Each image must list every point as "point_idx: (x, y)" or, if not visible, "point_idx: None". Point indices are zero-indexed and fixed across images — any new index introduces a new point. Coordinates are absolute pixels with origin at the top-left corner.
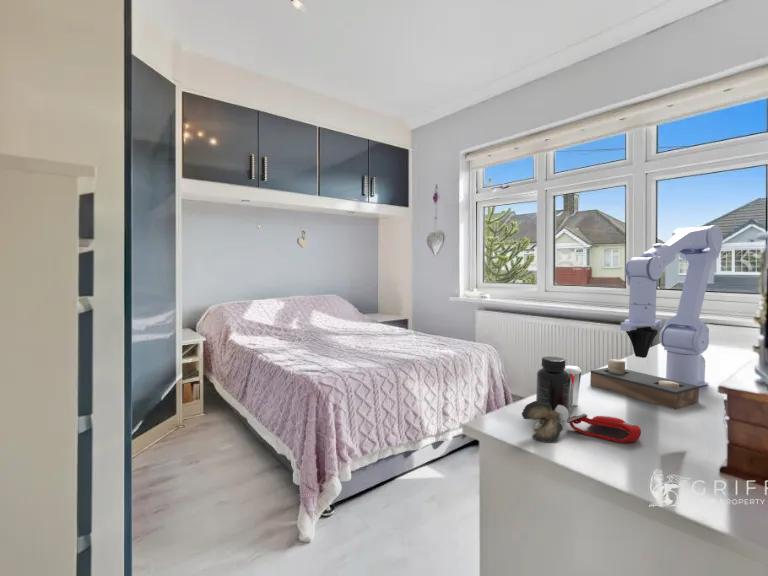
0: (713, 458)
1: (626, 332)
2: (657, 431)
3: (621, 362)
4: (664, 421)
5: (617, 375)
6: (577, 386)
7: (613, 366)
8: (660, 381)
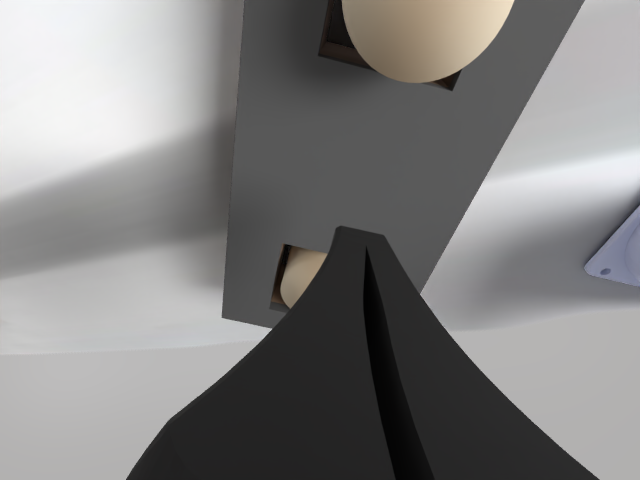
0: (15, 349)
1: (171, 421)
2: (17, 274)
3: (385, 61)
4: (103, 272)
5: (292, 50)
6: None
7: None
8: (317, 268)
